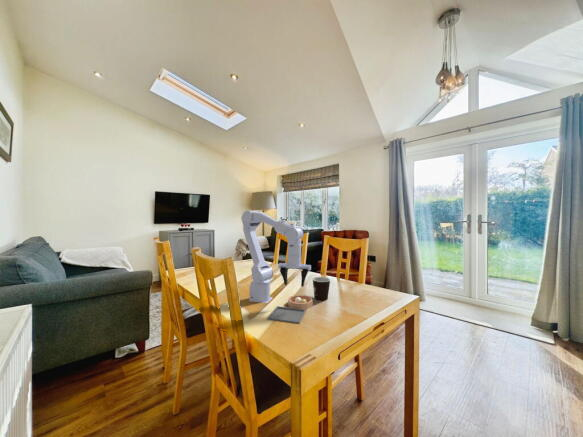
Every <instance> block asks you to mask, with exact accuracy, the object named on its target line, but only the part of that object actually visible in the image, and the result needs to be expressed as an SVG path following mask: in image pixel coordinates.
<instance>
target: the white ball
mask: <svg viewBox="0 0 583 437" xmlns="http://www.w3.org/2000/svg"><path fill="white" fill-rule="evenodd" d="M300 300H301V298H300V297H296V298H295V303H300Z"/></svg>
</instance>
